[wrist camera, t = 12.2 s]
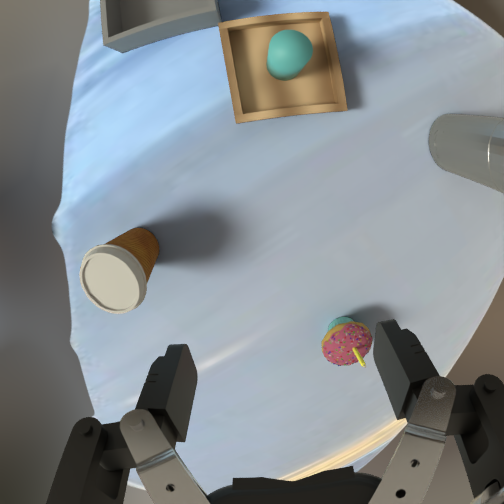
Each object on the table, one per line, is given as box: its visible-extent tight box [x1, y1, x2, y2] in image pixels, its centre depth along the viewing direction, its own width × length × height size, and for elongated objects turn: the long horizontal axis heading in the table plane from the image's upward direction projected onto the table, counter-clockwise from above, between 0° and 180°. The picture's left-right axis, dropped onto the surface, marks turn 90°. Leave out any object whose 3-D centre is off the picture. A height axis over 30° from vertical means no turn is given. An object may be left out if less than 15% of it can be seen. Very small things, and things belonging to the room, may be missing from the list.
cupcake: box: [322, 317, 373, 368], centre depth 44 cm, size 9×8×12 cm
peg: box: [266, 30, 313, 81], centre depth 29 cm, size 4×4×9 cm
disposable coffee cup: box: [80, 228, 159, 314], centre depth 39 cm, size 10×10×12 cm
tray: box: [218, 12, 348, 123], centre depth 32 cm, size 14×14×3 cm
